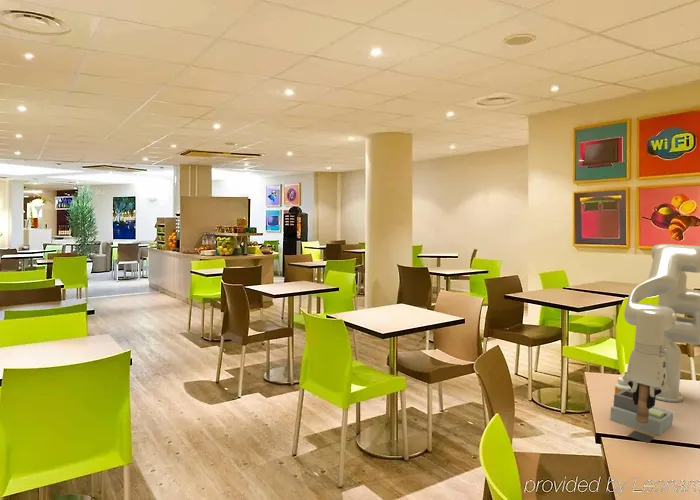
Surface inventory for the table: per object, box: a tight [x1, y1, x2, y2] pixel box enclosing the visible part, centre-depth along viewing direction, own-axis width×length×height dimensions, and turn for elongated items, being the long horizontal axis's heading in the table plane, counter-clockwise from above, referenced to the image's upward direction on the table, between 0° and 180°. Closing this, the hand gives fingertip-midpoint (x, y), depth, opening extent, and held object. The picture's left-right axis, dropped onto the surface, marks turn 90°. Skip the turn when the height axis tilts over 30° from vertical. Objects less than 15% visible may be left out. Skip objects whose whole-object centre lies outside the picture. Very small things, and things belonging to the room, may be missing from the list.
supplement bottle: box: [614, 376, 632, 394], centre depth 188 cm, size 5×5×10 cm
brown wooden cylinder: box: [636, 384, 650, 423], centre depth 160 cm, size 3×3×14 cm
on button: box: [649, 408, 665, 419], centre depth 168 cm, size 5×5×5 cm
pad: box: [627, 430, 655, 444], centre depth 161 cm, size 6×6×1 cm
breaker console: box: [609, 389, 674, 437], centre depth 171 cm, size 12×15×9 cm
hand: (643, 405), depth 160 cm, fingers closed on brown wooden cylinder, 3 cm apart
